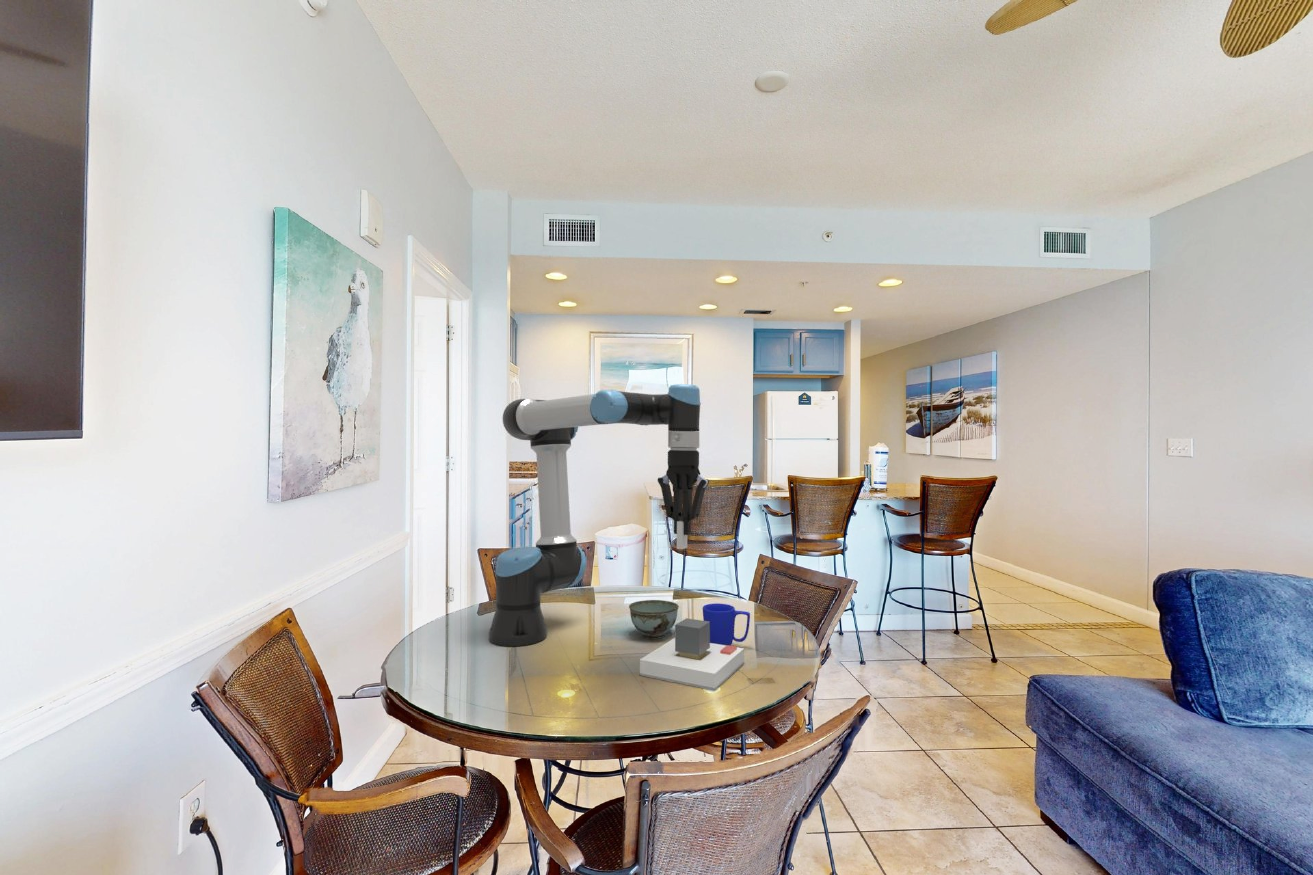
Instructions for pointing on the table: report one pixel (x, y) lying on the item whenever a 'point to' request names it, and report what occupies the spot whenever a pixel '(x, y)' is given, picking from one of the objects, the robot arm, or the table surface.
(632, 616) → the bowl
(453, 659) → the table surface
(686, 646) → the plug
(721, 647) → the socket plate
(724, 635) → the mug
